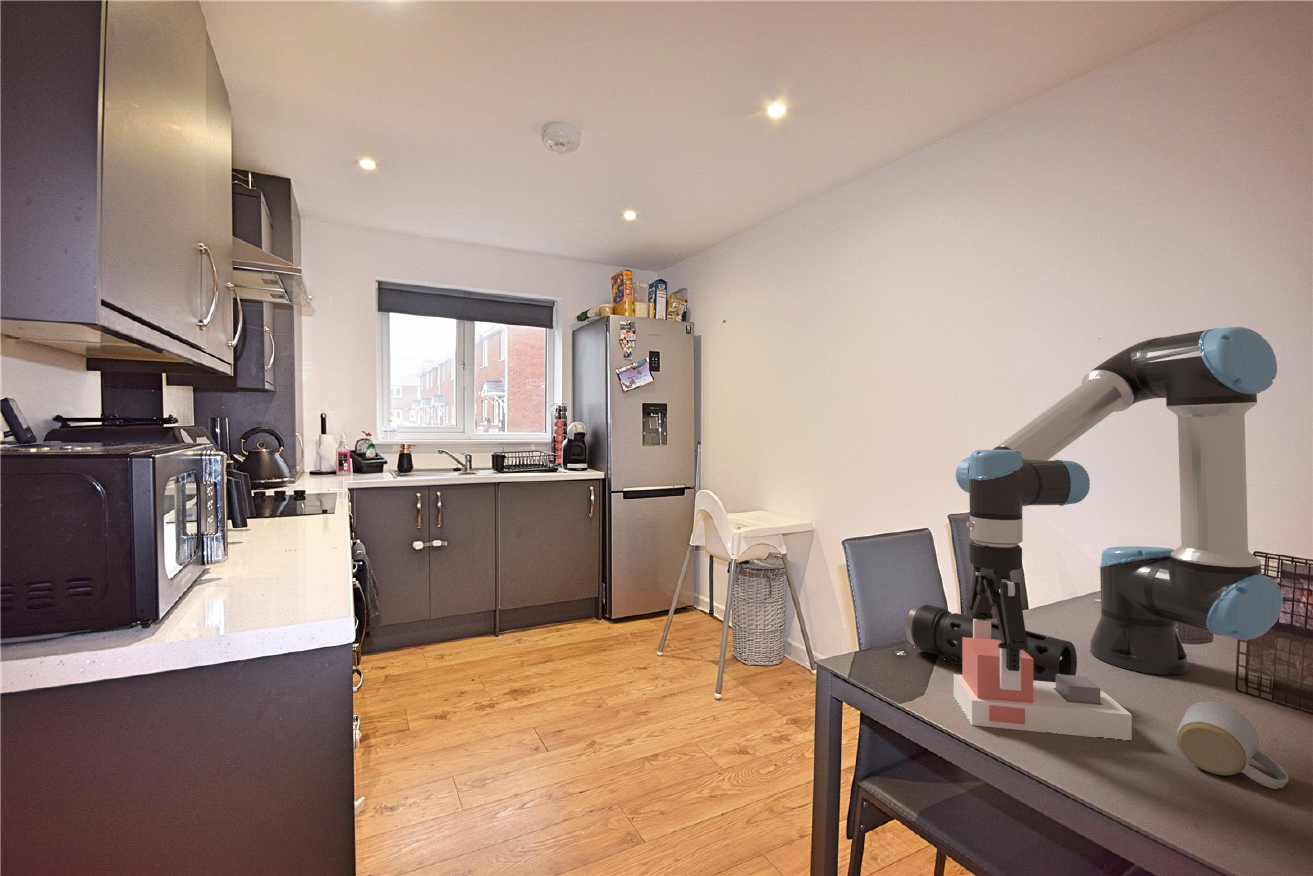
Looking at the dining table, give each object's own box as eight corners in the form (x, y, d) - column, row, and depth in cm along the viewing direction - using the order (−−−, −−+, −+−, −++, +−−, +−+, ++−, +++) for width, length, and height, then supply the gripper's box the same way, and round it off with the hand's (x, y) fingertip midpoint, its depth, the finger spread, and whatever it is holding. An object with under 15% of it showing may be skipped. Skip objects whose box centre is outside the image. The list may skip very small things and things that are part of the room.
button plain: (1085, 700, 93) (1085, 676, 93) (1100, 713, 89) (1100, 688, 89) (1055, 698, 94) (1055, 674, 94) (1068, 710, 90) (1068, 685, 90)
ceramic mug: (1173, 763, 80) (1174, 710, 80) (1184, 743, 85) (1185, 692, 85) (1285, 803, 72) (1287, 743, 71) (1290, 778, 77) (1292, 722, 77)
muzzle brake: (1056, 707, 97) (1057, 646, 97) (902, 655, 119) (902, 606, 119) (1077, 692, 102) (1077, 634, 102) (926, 645, 125) (926, 598, 125)
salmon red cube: (1013, 681, 97) (1013, 640, 97) (1033, 703, 89) (1033, 659, 89) (962, 677, 99) (962, 637, 99) (977, 698, 91) (977, 654, 91)
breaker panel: (1096, 709, 95) (1096, 685, 95) (1132, 741, 86) (1132, 715, 85) (953, 696, 100) (953, 674, 100) (972, 726, 90) (972, 701, 90)
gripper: (949, 529, 107) (949, 643, 107) (997, 557, 83) (997, 703, 83) (993, 530, 105) (993, 646, 105) (1055, 559, 81) (1054, 709, 82)
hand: (995, 671), depth 94 cm, fingers open, 12 cm apart
